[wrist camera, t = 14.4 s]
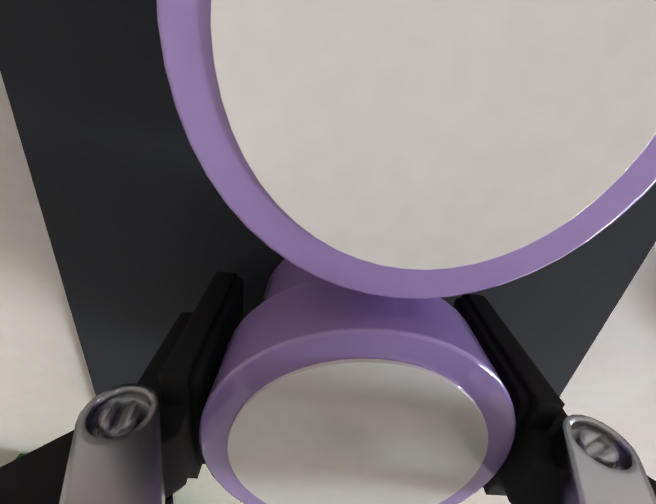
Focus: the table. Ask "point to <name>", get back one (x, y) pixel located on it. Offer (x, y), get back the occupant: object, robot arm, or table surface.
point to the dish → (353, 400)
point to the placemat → (207, 200)
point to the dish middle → (418, 129)
